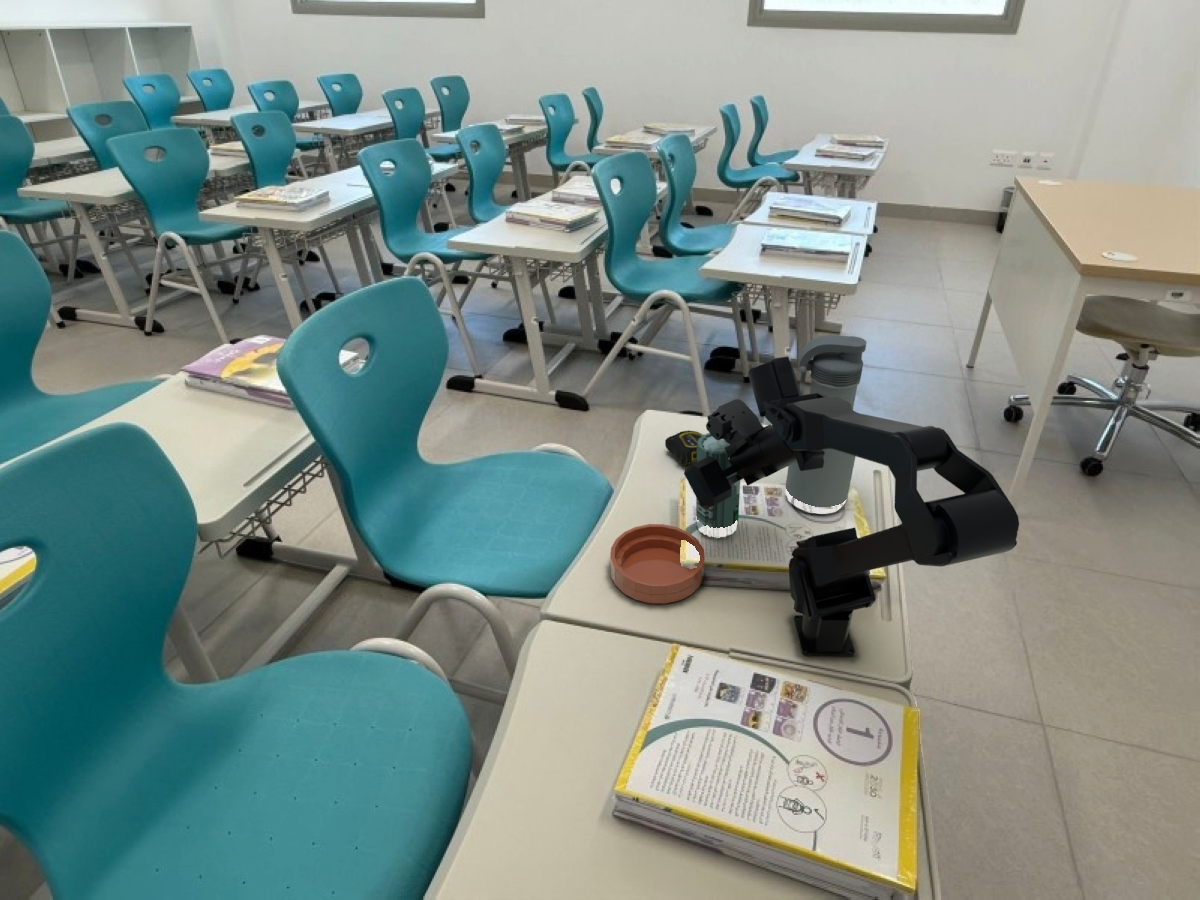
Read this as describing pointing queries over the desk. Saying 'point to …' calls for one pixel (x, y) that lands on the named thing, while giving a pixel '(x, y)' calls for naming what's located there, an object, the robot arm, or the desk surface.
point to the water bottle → (830, 376)
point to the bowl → (654, 564)
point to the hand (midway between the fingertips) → (712, 480)
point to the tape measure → (684, 446)
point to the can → (728, 508)
